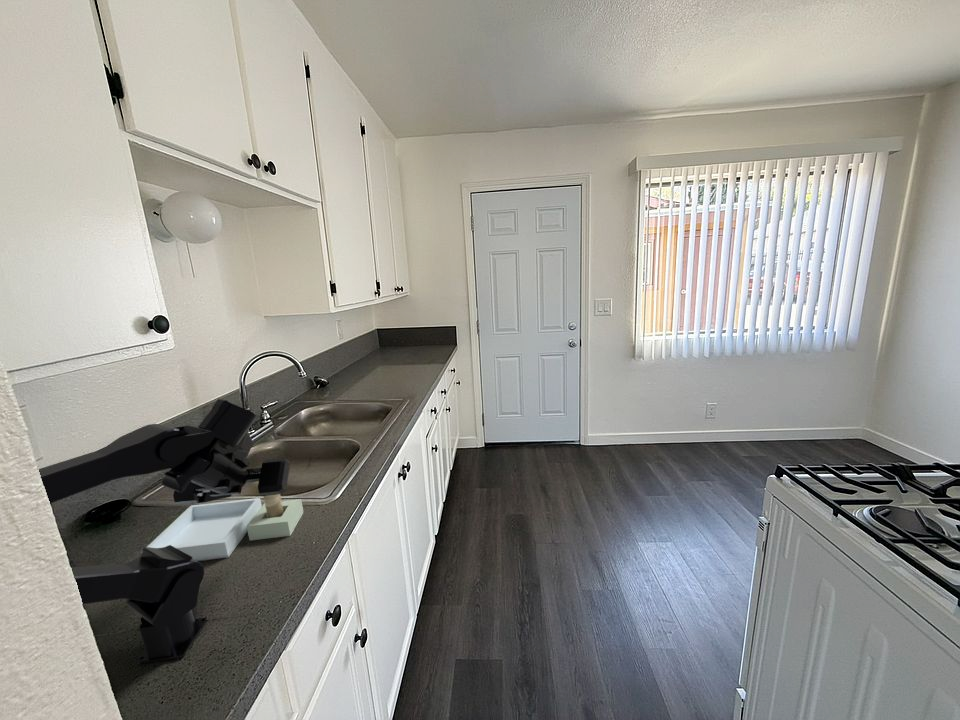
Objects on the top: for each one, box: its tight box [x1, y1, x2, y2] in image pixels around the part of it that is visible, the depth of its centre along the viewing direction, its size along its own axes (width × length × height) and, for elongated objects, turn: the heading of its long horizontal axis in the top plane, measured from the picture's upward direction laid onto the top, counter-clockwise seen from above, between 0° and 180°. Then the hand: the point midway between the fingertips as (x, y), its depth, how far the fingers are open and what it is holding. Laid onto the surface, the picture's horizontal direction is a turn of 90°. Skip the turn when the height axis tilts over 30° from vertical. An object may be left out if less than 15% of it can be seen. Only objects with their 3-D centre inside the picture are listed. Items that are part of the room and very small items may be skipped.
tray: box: [141, 497, 263, 562], centre depth 83 cm, size 16×16×4 cm
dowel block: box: [247, 498, 304, 541], centre depth 86 cm, size 8×8×4 cm
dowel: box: [262, 494, 284, 518], centre depth 85 cm, size 3×3×12 cm
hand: (254, 491), depth 77 cm, fingers open, 9 cm apart
